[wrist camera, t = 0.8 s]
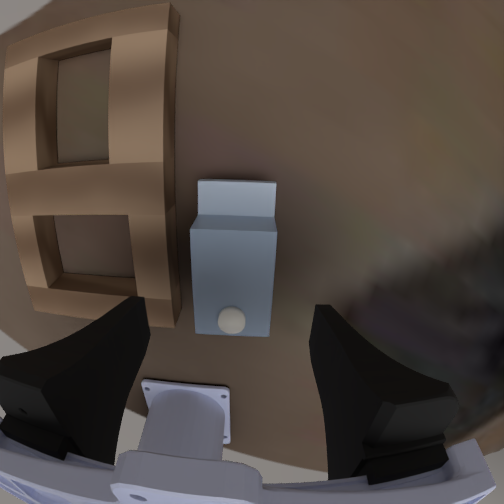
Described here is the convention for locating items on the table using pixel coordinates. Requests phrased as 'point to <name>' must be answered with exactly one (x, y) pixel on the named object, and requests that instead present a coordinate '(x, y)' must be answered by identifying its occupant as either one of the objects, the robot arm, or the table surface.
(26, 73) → the frame
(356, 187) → the table surface
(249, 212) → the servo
